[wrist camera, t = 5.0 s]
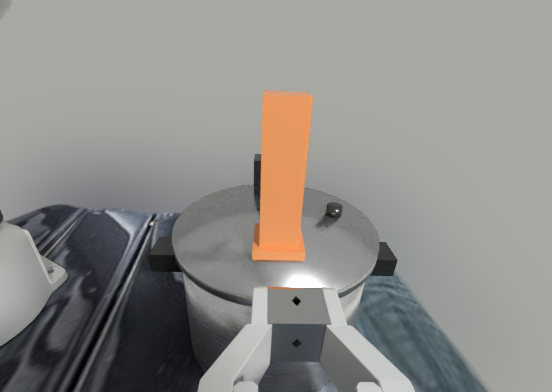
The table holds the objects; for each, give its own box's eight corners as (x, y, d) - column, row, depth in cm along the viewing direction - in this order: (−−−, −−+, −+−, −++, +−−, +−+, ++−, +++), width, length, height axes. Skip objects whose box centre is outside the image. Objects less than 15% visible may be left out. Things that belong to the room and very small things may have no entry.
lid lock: (304, 260, 21) (323, 98, 16) (252, 259, 21) (253, 95, 16) (299, 231, 25) (313, 92, 19) (254, 230, 24) (256, 89, 19)
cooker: (409, 410, 24) (480, 252, 17) (129, 410, 23) (73, 243, 16) (350, 266, 41) (373, 157, 34) (188, 262, 40) (175, 149, 33)
